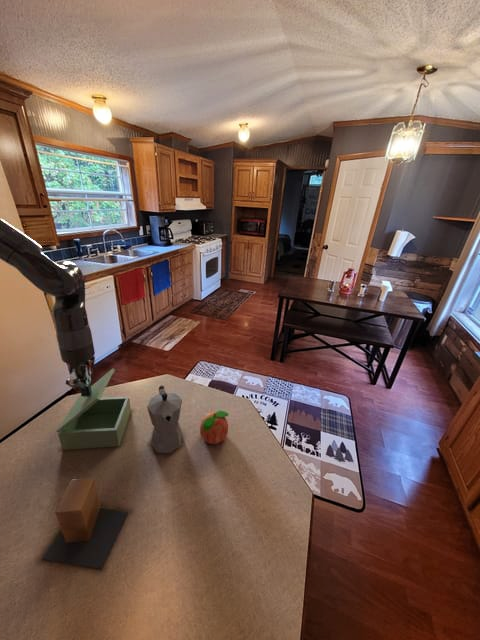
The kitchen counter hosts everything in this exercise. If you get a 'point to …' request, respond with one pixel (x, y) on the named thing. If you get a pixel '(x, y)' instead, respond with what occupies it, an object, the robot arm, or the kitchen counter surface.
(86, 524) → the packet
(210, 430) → the fruit
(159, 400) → the coffeepot
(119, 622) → the kitchen counter surface
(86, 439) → the open box
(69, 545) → the plate
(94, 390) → the lid
